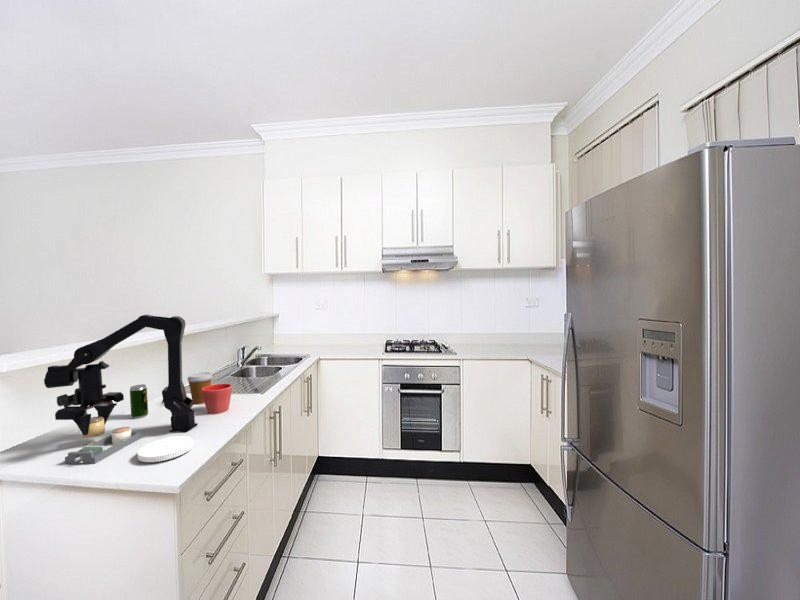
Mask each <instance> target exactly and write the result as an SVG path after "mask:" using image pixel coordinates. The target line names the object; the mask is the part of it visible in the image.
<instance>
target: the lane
mask: <svg viewBox="0 0 800 600" xmlns="http://www.w3.org/2000/svg"><path fill="white" fill-rule="evenodd" d="M144 436H145V434H144V431H141V430H140V431H137V430H134V431H132V430H131V437H129V438H127V439H125V440H123V441H121V442H120V443H118V444H116V445H114V444H113V445H112V446H110V447H108V448H107V449H106V448H105V450H104V451H102V452H101V453H99V454H97V455H95V456H94V452H82V448H81V449H79V450H76V451H70V452H67V456H65V457H64V464H68V465H69V464H79V463H80V462H81V459H80V460H78V461H76V462H75V461H74V459H75V458H77V457H79V456H81V455H83V458H82V464H83V465H84V464H92V465H93V464H94V465H95V464H97V463H98V462H101V461H102V460H104V459H106V458H108V457H110V456H112V455H114V453H116V452H119V451H120V450H123V449H124V448H125V447H128V446H130V445H131V444H133V443H135V442H137V441H138V440H141V439H142V438H144ZM109 443H112V434H110V435H108V436H106V437H103V438H102V439H99V440H98V441H95V442H94V443H93V442H92V443H91V444H90V445H88V446H104V447H105V446H106V445H107V444H109Z"/></svg>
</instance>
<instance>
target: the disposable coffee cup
mask: <svg viewBox="0 0 800 600" xmlns="http://www.w3.org/2000/svg"><path fill="white" fill-rule="evenodd" d="M212 378H213V375H212V373H211V372H207V371H204V372H198V373H192V374H188V377H187V378H186V380H187V381H188V385H189V391H190V395H191V400H193V401H194V403H193V405H203V404H205V402H204V398H203V394H202V388H204V387H207V386H210V385H212V384H211V383H212Z"/></svg>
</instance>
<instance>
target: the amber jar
mask: <svg viewBox="0 0 800 600" xmlns="http://www.w3.org/2000/svg"><path fill="white" fill-rule="evenodd" d="M105 425H106V424H105ZM105 425H104V418H103V417H102V416H98V415H97V416H91V419H90V425H89V431H88V434H87V435H83V434H82V433H81V434H82V438H84V439H91V438H95V437H99V436H102V435H103V434H105V433H106V428H105Z"/></svg>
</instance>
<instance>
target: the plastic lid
mask: <svg viewBox="0 0 800 600" xmlns="http://www.w3.org/2000/svg"><path fill="white" fill-rule="evenodd" d="M193 447H194V439H193V438H192V437H191V436H189V435H188V436H187V435H176V436H174V435H173V436H168V437H164V438H160V439H157V440H154V441H151V442H148V443H146V444H144V445H142V446H141V447H140V448H139V449H138V450H137V452H136V453H137V460H138V462H139V461H140V462H142V463H157V462H162V461H168V460H171V459H174V458H177V457H179V456H182V455H184V454H186V453H188V452H189V451H190V450H192V449H193Z"/></svg>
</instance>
